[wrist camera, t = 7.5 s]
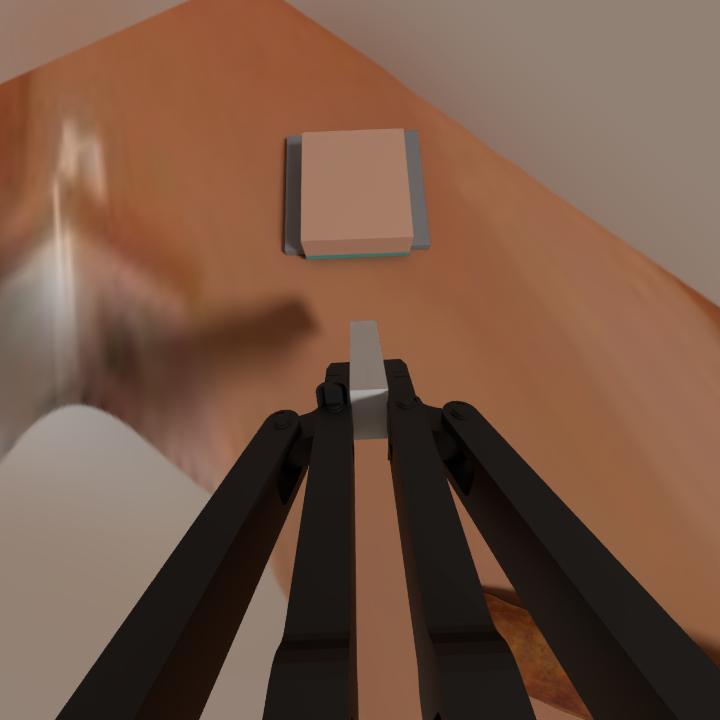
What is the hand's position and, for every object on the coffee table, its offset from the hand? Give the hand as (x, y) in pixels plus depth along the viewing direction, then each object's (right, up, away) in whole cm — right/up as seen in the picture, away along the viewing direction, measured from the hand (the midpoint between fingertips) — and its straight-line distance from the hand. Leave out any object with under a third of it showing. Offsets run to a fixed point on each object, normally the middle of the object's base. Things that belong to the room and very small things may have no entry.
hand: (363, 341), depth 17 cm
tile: (0, +8, +6) cm, 10 cm away
